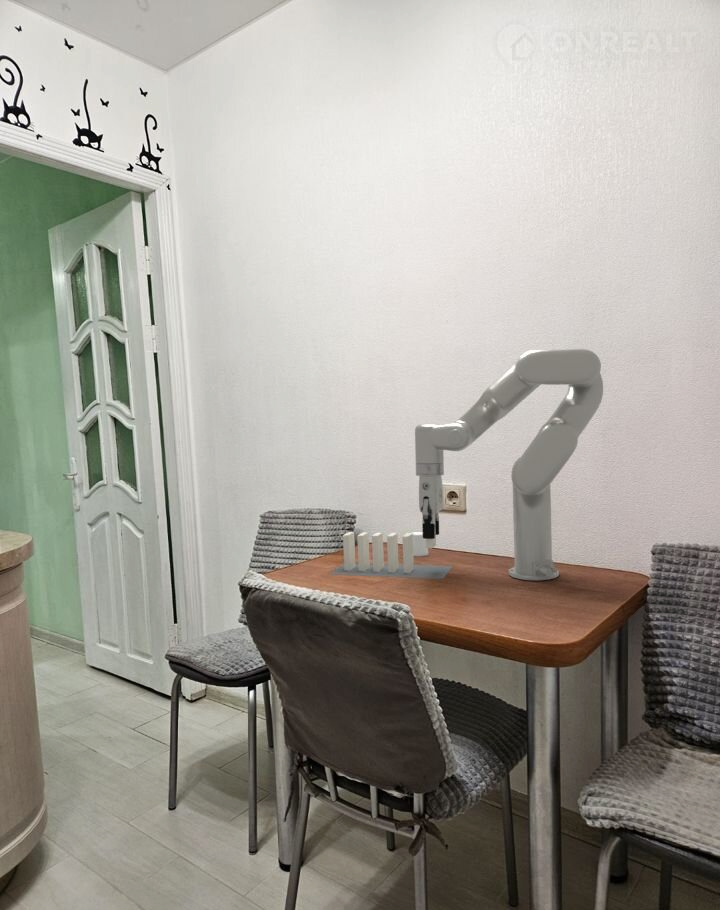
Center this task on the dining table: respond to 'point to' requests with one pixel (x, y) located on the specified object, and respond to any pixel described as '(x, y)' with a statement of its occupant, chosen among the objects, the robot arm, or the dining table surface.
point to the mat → (398, 571)
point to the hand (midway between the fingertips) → (431, 535)
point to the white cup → (419, 544)
